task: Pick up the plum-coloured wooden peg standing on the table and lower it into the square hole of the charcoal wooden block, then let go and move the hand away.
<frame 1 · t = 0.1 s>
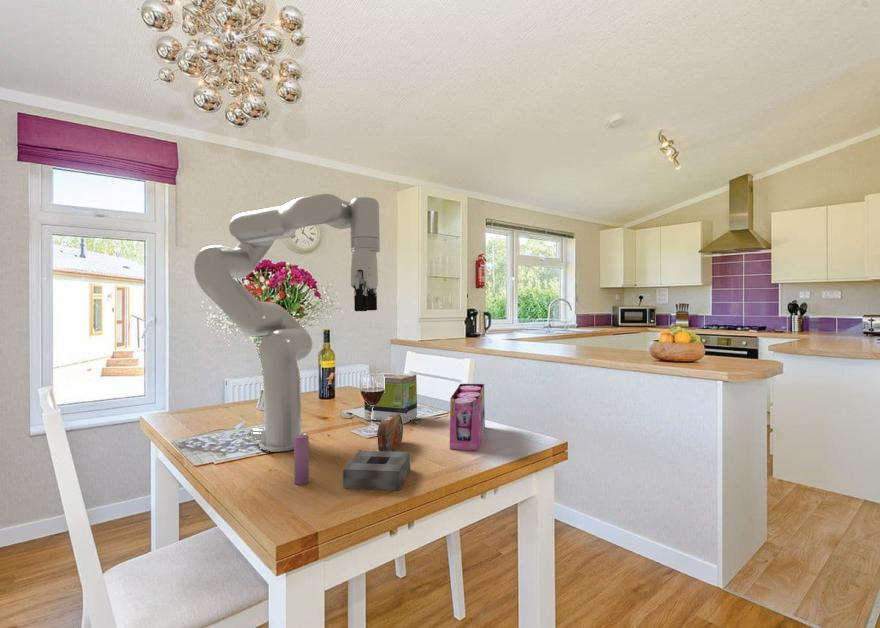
hand: (366, 310, 121), 37 cm above the table, tool pointing down, fingers open, 9 cm apart
peg: (301, 482, 99), on the table
tea box: (391, 419, 152), on the table
hole block: (378, 478, 101), on the table
tin: (390, 449, 121), on the table
gum box: (468, 438, 131), on the table
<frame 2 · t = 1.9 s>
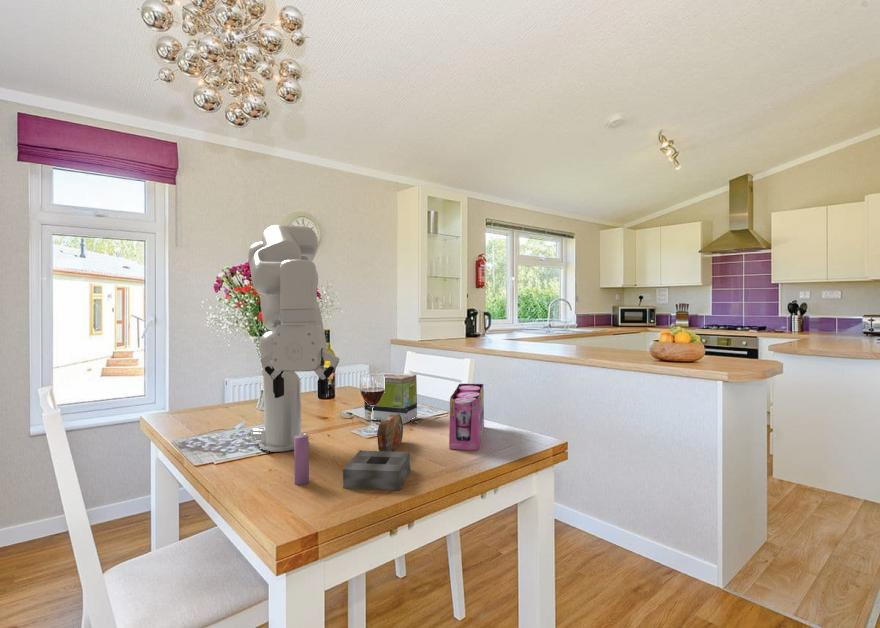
hand: (300, 397, 99), 19 cm above the table, tool pointing down, fingers open, 9 cm apart
nothing on the table moved.
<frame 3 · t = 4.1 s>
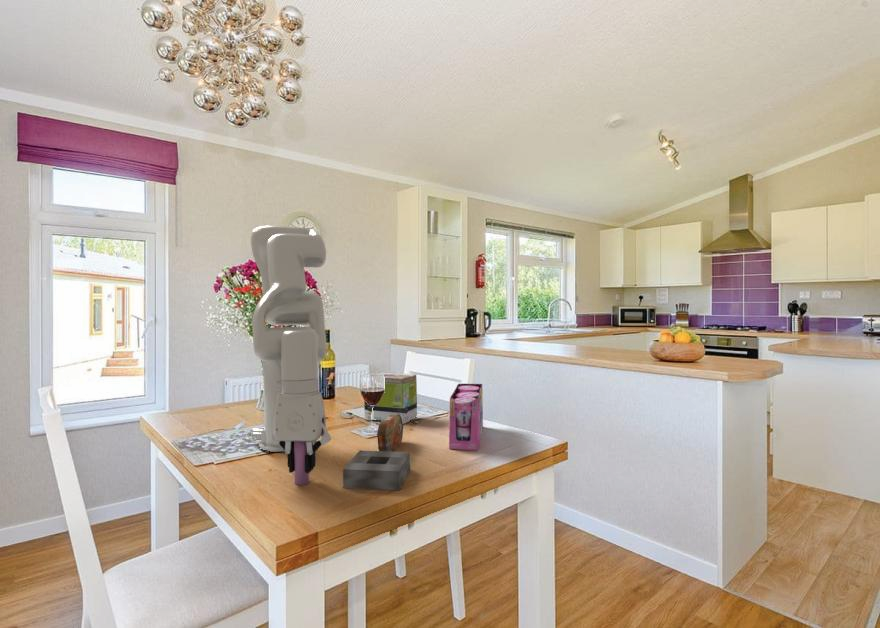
hand: (301, 469, 99), 3 cm above the table, tool pointing down, fingers closed on peg, 3 cm apart
peg: (301, 482, 99), on the table, touching gripper
everything else where it was.
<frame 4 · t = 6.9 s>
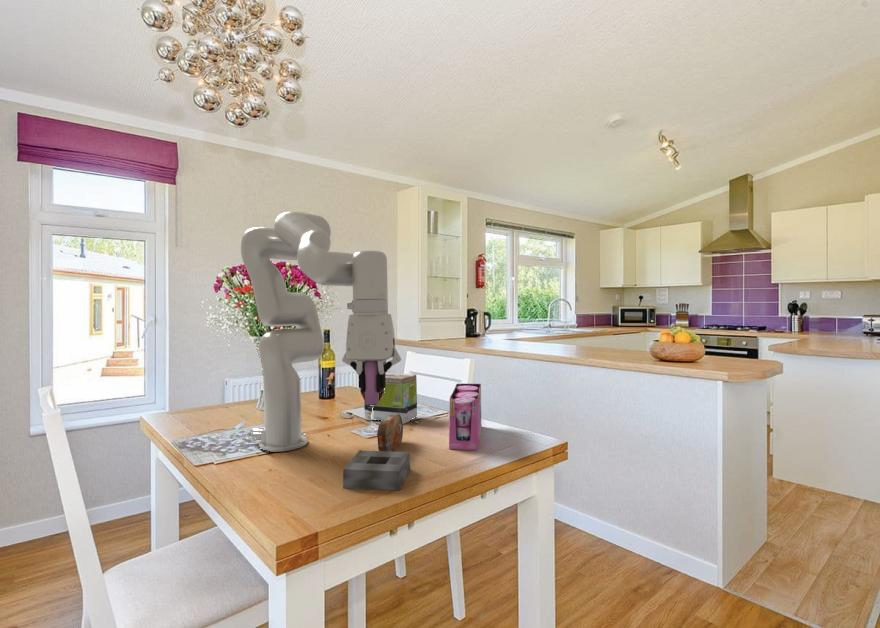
hand: (372, 390, 100), 20 cm above the table, tool pointing down, fingers closed on peg, 3 cm apart
peg: (372, 403, 100), point 17 cm above the table, touching gripper
everything else where it was.
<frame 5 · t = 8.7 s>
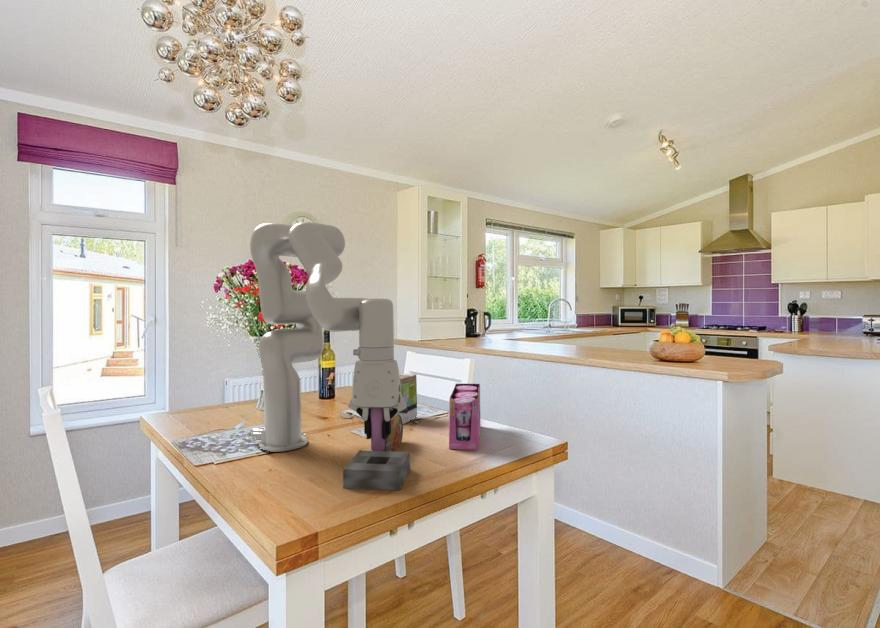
hand: (377, 436, 101), 9 cm above the table, tool pointing down, fingers closed on peg, 3 cm apart
peg: (377, 449, 101), point 7 cm above the table, touching gripper
everything else where it was.
when the fingers open (5 cm above the table, at t = 9.9 s): peg drops 2 cm, resting in hole block.
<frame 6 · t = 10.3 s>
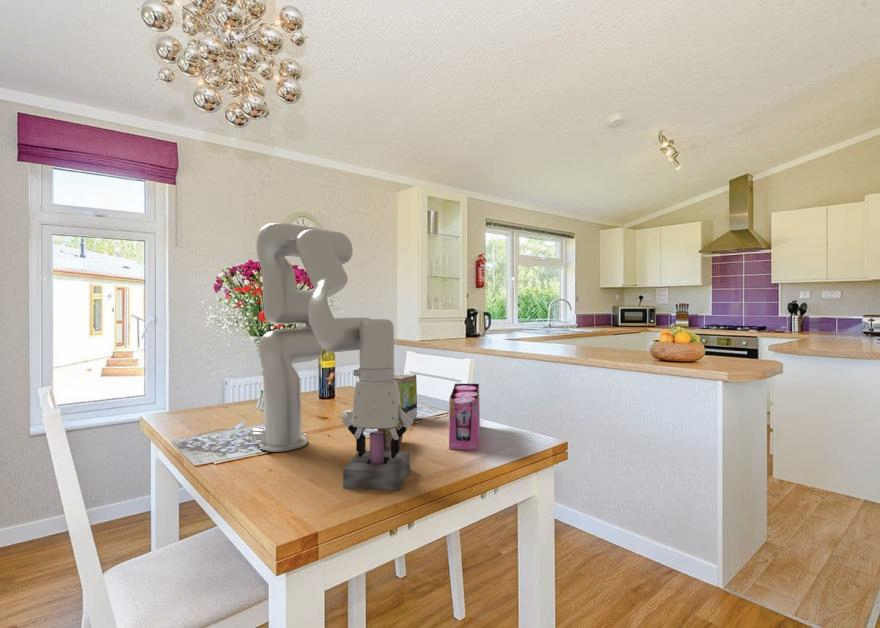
hand: (378, 454, 101), 5 cm above the table, tool pointing down, fingers open, 6 cm apart
peg: (377, 478, 101), resting in hole block
everything else where it was.
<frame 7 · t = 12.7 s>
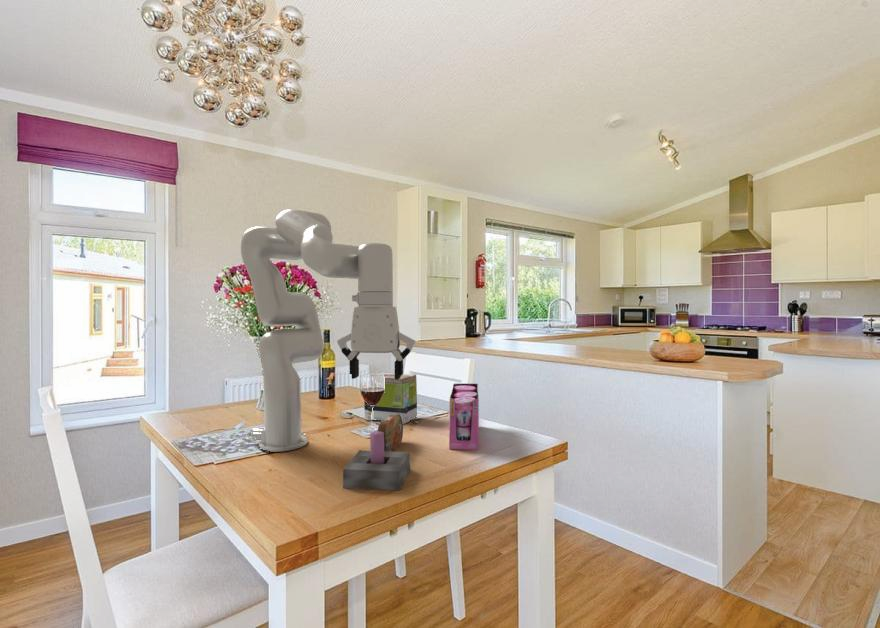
hand: (376, 378, 101), 22 cm above the table, tool pointing down, fingers open, 9 cm apart
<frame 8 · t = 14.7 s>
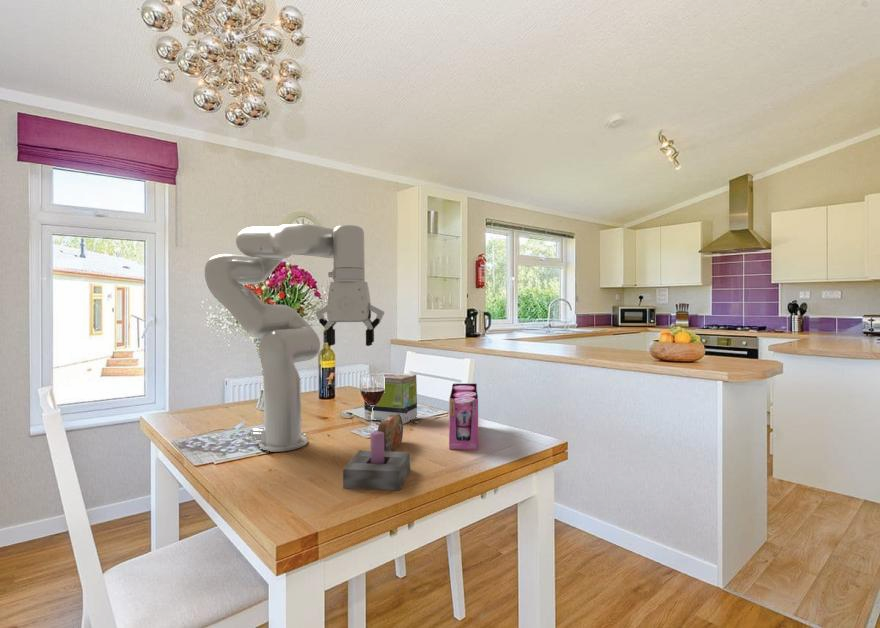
hand: (350, 345, 114), 28 cm above the table, tool pointing down, fingers open, 9 cm apart
at the end: peg 0.1 cm off-centre on the hole block, point 0.0 cm above the hole block's base; peg tilted 0°; the gripper is holding nothing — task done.
